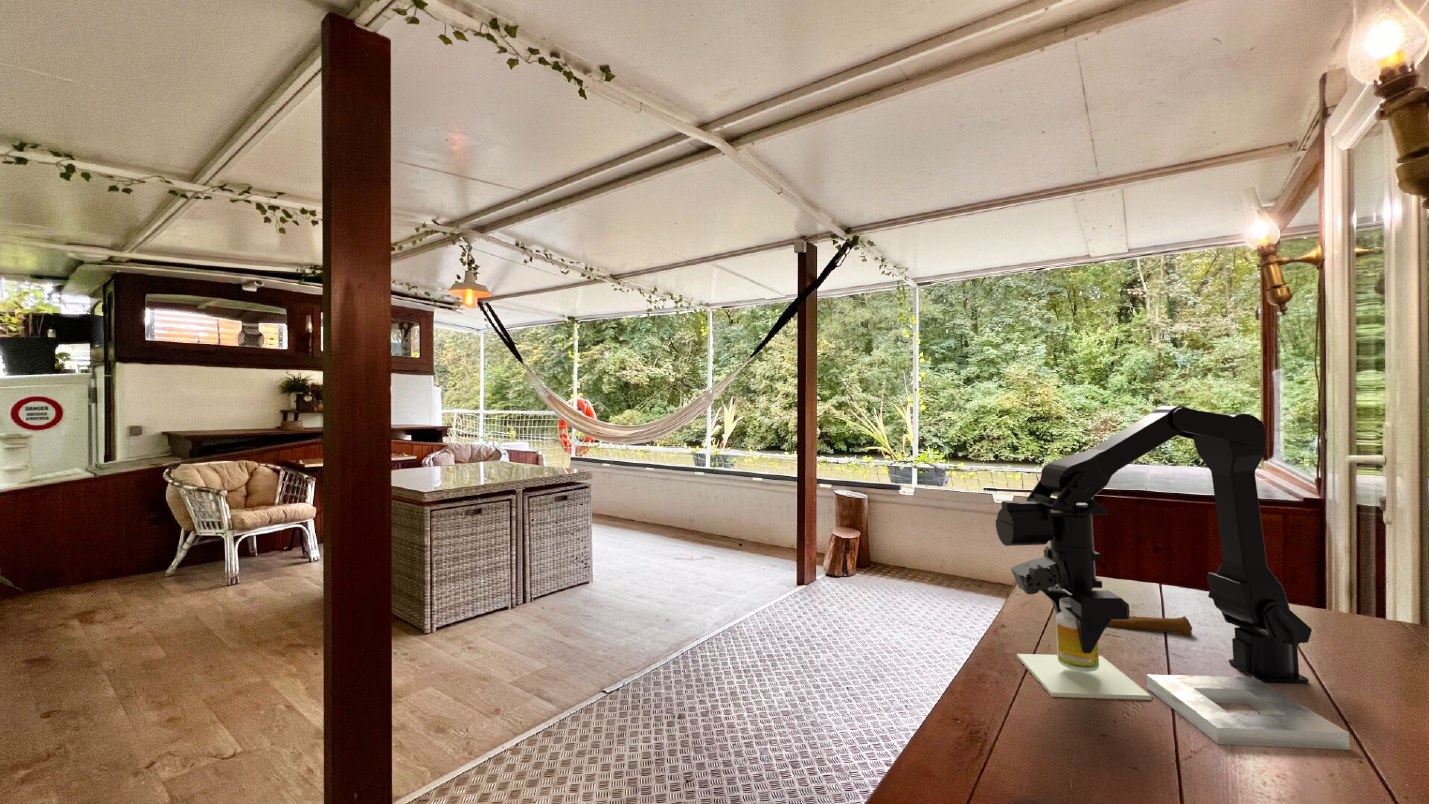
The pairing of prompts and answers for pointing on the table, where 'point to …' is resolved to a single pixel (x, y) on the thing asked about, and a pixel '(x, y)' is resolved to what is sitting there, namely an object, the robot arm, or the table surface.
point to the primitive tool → (1155, 624)
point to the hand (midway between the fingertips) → (1077, 644)
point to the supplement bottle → (1072, 643)
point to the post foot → (1272, 727)
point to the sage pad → (1081, 679)
